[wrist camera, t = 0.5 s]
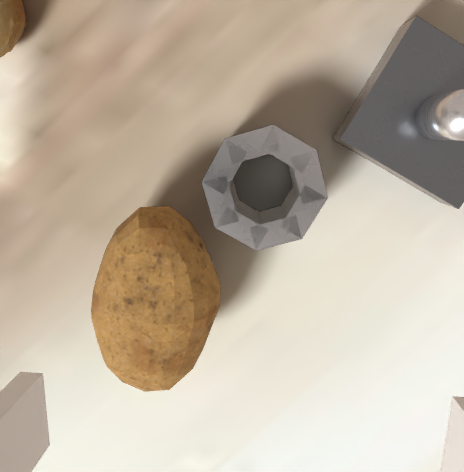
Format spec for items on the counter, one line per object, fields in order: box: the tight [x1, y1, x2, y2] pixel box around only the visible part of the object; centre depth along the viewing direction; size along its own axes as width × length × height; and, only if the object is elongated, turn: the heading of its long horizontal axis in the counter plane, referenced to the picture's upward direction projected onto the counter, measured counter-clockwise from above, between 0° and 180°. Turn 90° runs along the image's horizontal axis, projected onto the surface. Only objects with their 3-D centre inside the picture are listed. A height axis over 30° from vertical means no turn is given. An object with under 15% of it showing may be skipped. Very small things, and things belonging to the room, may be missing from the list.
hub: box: [202, 125, 328, 251], centre depth 31 cm, size 8×8×5 cm
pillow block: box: [333, 16, 464, 209], centre depth 28 cm, size 10×9×8 cm
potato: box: [91, 207, 221, 391], centre depth 32 cm, size 10×14×8 cm
